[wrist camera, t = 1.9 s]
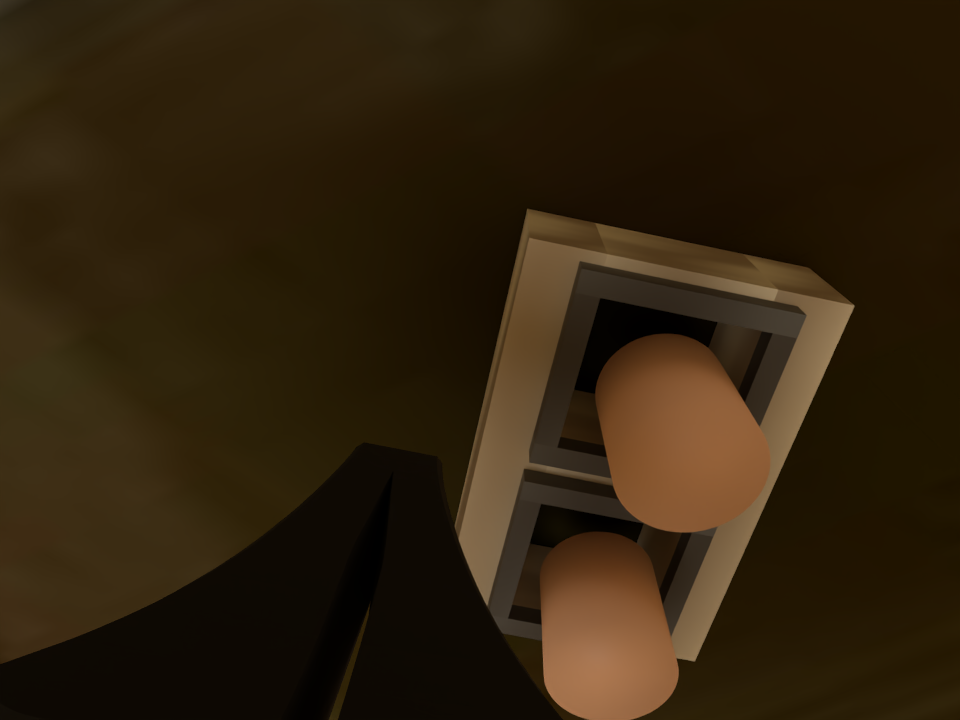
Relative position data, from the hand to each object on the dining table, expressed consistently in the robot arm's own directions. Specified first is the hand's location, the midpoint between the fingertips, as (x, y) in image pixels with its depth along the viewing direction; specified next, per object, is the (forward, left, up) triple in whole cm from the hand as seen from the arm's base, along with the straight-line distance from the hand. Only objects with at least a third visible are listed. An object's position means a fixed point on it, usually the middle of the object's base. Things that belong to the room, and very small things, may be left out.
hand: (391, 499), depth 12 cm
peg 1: (-6, +6, -6) cm, 10 cm away
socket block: (-6, +3, -10) cm, 12 cm away
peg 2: (-6, 0, -6) cm, 8 cm away
